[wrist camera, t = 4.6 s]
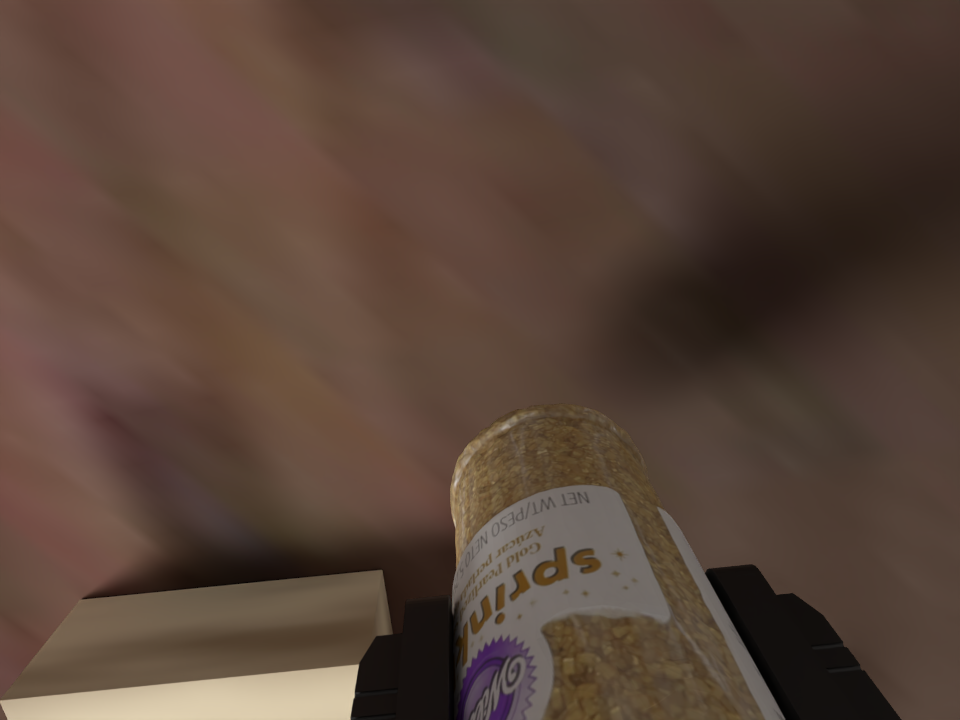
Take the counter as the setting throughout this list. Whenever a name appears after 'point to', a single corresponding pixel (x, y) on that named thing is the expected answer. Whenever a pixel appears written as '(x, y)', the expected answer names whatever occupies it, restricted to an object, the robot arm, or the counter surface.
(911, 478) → the counter surface
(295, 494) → the counter surface
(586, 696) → the sprinkles bottle
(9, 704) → the beech pedestal block
